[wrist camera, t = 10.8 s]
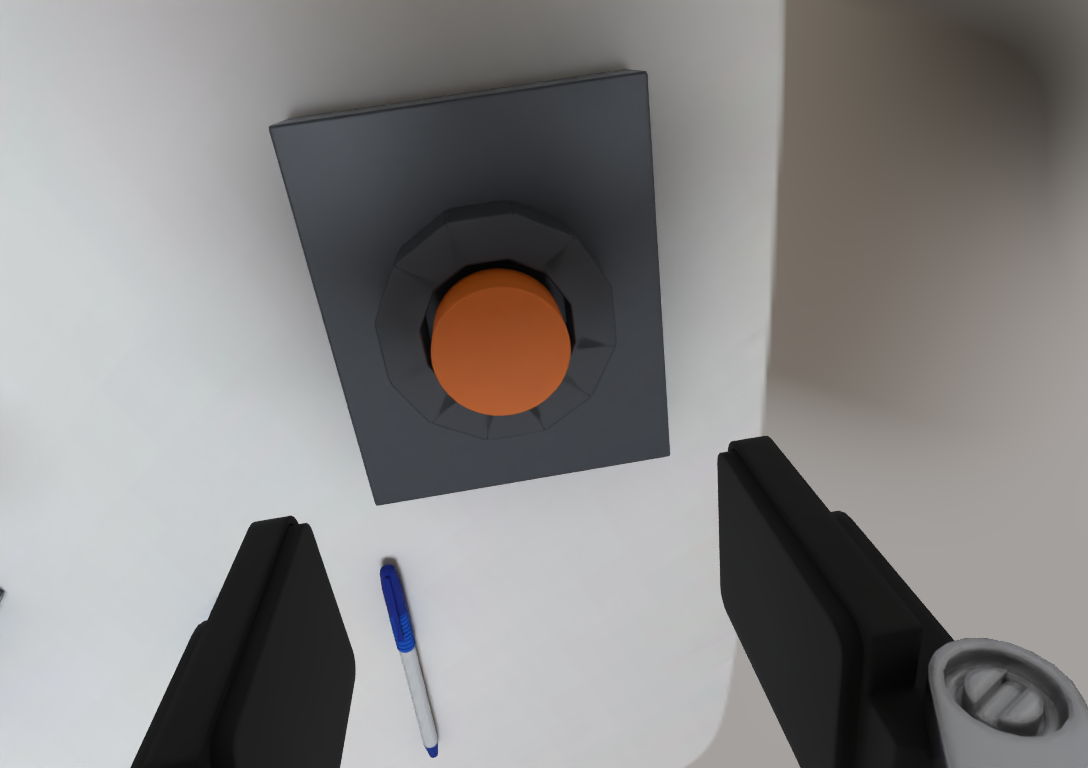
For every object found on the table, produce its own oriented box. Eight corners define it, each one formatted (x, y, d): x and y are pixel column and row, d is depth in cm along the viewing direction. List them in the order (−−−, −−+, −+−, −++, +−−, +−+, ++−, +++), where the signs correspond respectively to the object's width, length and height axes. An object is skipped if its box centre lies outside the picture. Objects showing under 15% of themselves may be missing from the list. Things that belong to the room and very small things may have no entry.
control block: (286, 119, 20) (248, 133, 16) (629, 68, 20) (666, 72, 17) (382, 471, 25) (369, 540, 22) (654, 425, 26) (686, 486, 22)
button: (421, 278, 19) (417, 299, 17) (554, 258, 19) (562, 276, 17) (446, 397, 20) (445, 426, 19) (569, 377, 20) (578, 404, 19)
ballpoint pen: (372, 563, 27) (369, 580, 26) (396, 559, 27) (394, 576, 26) (427, 747, 31) (426, 768, 30) (447, 744, 31) (447, 764, 30)
